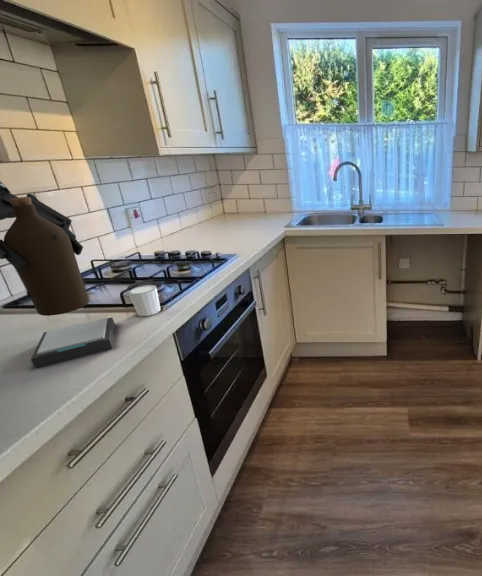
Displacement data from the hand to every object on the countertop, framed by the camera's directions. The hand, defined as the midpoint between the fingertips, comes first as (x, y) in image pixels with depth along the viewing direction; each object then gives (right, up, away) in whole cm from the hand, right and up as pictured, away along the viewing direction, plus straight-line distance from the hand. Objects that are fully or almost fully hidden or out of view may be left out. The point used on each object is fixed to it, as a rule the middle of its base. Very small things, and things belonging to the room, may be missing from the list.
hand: (53, 258), depth 79 cm
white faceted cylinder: (+5, -13, +25) cm, 29 cm away
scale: (-2, -20, +9) cm, 22 cm away
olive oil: (-2, -11, +6) cm, 13 cm away
